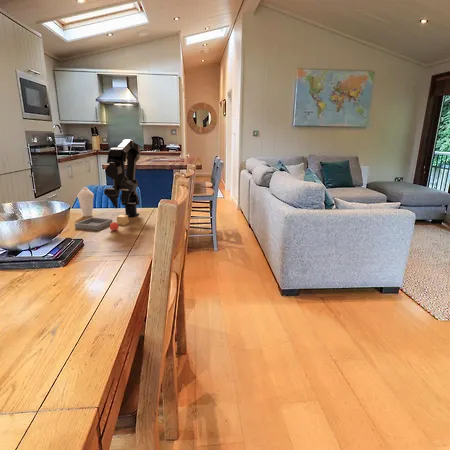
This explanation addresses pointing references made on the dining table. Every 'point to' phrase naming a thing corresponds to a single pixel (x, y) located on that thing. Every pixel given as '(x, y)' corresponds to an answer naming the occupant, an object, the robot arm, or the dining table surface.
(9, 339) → the dining table surface
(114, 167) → the robot arm
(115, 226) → the tomato
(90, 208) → the soft serve ice cream cone
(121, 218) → the block
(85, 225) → the dish
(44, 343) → the dining table surface
